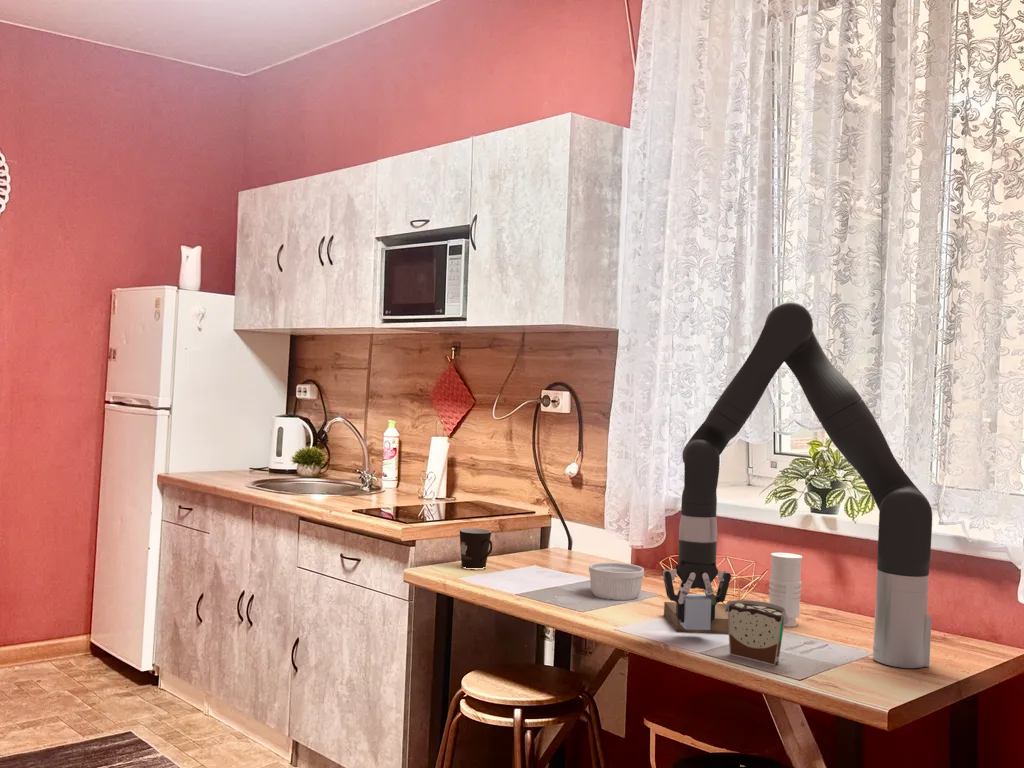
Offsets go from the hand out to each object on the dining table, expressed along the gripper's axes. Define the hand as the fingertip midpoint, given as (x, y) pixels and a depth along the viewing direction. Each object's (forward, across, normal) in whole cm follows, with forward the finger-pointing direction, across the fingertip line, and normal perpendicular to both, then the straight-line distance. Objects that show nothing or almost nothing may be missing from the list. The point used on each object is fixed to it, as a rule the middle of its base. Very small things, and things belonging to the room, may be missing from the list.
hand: (694, 621), depth 191 cm
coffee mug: (+3, +44, -64) cm, 78 cm away
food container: (+4, -10, +12) cm, 16 cm away
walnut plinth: (+3, -5, -12) cm, 14 cm away
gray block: (+1, 0, 0) cm, 1 cm away
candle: (+4, -24, -16) cm, 29 cm away
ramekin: (+3, +10, -38) cm, 40 cm away
